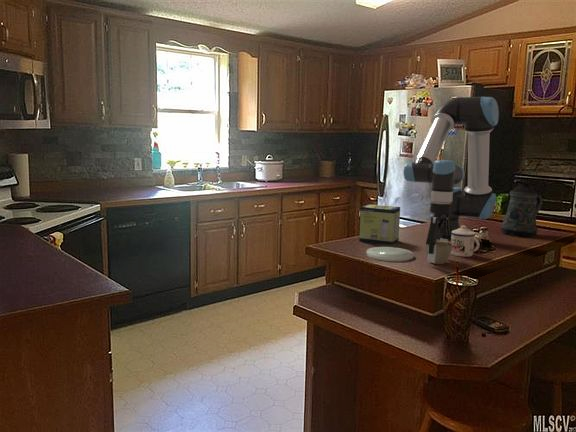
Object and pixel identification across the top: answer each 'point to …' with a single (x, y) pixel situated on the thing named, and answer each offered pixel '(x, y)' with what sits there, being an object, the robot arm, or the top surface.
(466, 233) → the teacup with lid
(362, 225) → the protein box
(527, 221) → the beer stein
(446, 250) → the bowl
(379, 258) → the dish
